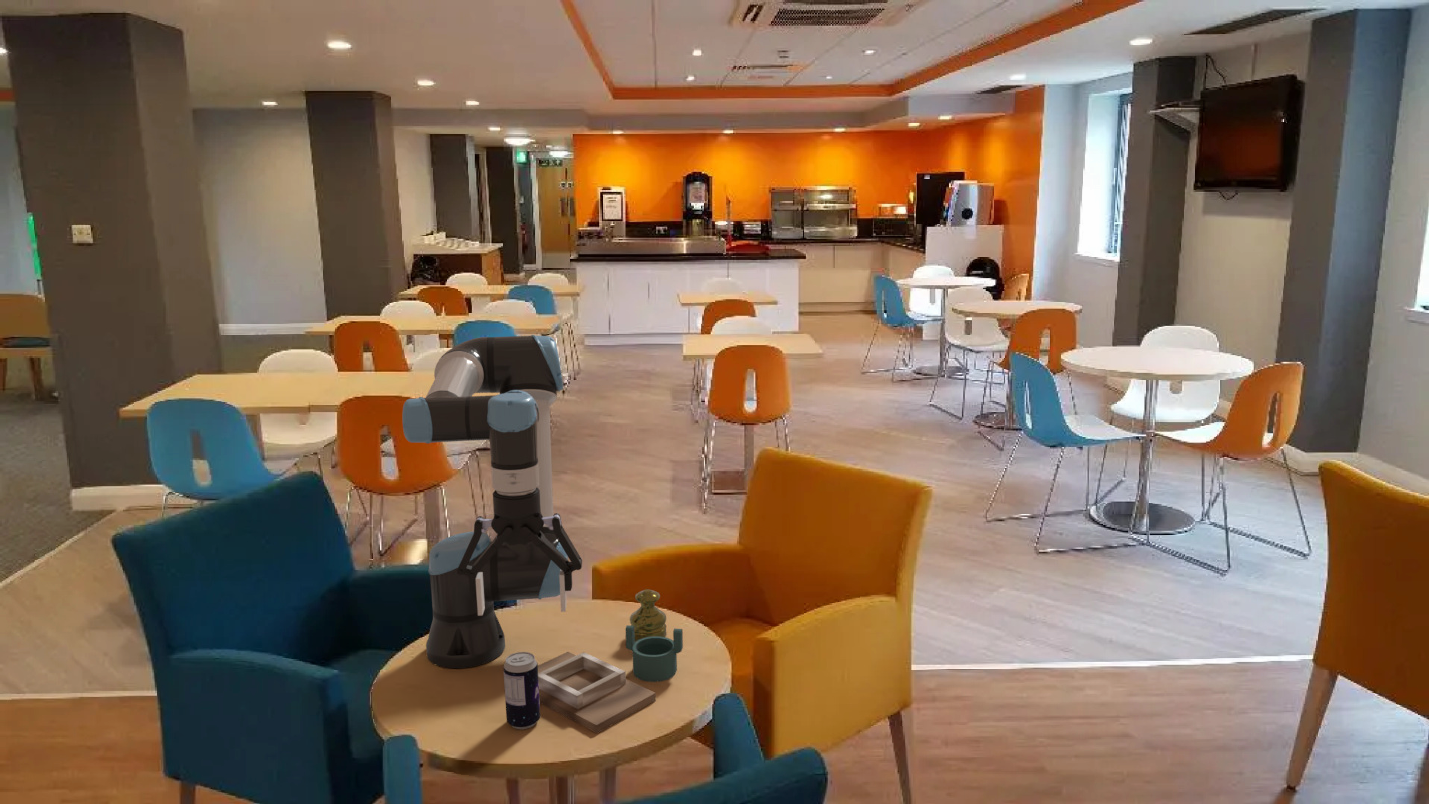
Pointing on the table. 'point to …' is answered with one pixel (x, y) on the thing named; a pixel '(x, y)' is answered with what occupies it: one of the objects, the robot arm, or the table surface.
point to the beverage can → (521, 690)
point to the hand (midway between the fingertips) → (522, 610)
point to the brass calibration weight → (648, 616)
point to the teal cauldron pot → (654, 655)
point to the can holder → (589, 690)
